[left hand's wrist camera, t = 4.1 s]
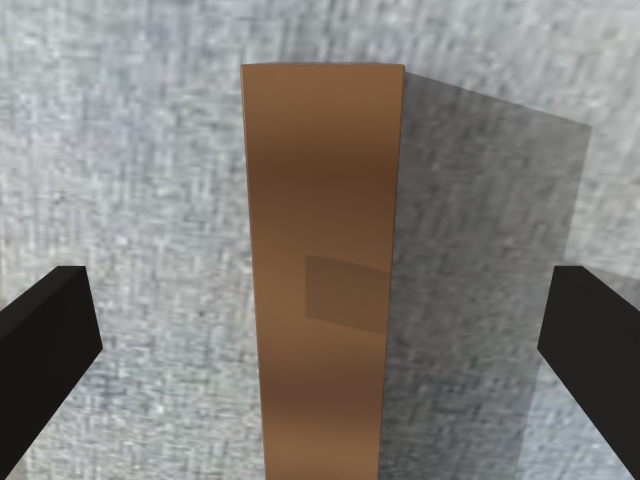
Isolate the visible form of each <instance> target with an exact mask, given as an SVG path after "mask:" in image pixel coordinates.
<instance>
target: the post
mask: <svg viewBox="0 0 640 480" xmlns="http://www.w3.org/2000/svg"><path fill="white" fill-rule="evenodd" d="M240 75H241V91H242V107H243V123H244V139H245V155H246V172H247V188H248V204H249V220H250V236H251V253H252V269H253V285H254V301H255V317H256V333H257V350H258V366H259V382H260V398H261V414H262V431H263V447H264V463H265V479H266V480H378V471H379V456H380V441H381V426H382V410H383V395H384V380H385V365H386V350H387V334H388V319H389V304H390V289H391V273H392V258H393V243H394V228H395V213H396V197H397V182H398V167H399V152H400V136H401V121H402V106H403V91H404V76H405V66H404V65H403V64H389V63H255V64H243V65H241V66H240Z"/></svg>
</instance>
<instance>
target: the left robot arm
mask: <svg viewBox="0 0 640 480" xmlns="http://www.w3.org/2000/svg"><path fill="white" fill-rule="evenodd" d="M102 349H103V346H102V342H101V337H100V332H99V328H98V323H97V318H96V314H95V309H94V304H93V300H92V295H91V290H90V286H89V281H88V276H87V272H86V267H85V266H57V267H56V268H55V269H53V270H52V271H51V272H50V273H48V274H47V275H46V276H44V277H43V278H42V279H41V280H39V281H38V282H37V283H36V284H34V285H33V286H32V287H31V288H29V289H28V290H27V291H26V292H24V293H23V294H22V295H20V296H19V297H18V298H17V299H15V300H14V301H13V302H12V303H10V304H9V305H8V306H7V307H5V308H4V309H3V310H2V311H0V480H5V479H6V478H7V476H8V475H9V473H10V472H11V471H12V469H13V468H14V467H15V465H16V464H17V463H18V461H19V460H20V459H21V457H22V456H23V455H24V453H25V452H26V451H27V449H28V448H29V447H30V445H31V444H32V443H33V441H34V440H35V439H36V437H37V436H38V435H39V433H40V432H41V431H42V429H43V428H44V427H45V425H46V424H47V423H48V421H49V420H50V419H51V417H52V416H53V415H54V413H55V412H56V411H57V409H58V408H59V407H60V405H61V404H62V403H63V401H64V400H65V399H66V397H67V396H68V395H69V393H70V392H71V391H72V389H73V388H74V387H75V385H76V384H77V383H78V381H79V380H80V379H81V377H82V376H83V375H84V373H85V372H86V371H87V369H88V368H89V367H90V365H91V364H92V363H93V361H94V360H95V359H96V357H97V356H98V355H99V353H100V352H101V351H102ZM537 349H538V351H539V352H540V353H541V355H542V356H543V357H544V359H545V360H546V361H547V363H548V364H549V365H550V367H551V368H552V369H553V371H554V372H555V373H556V375H557V376H558V377H559V379H560V380H561V381H562V383H563V384H564V385H565V387H566V388H567V389H568V391H569V392H570V393H571V395H572V396H573V397H574V399H575V400H576V401H577V403H578V404H579V405H580V407H581V408H582V409H583V411H584V412H585V413H586V415H587V416H588V417H589V419H590V420H591V421H592V423H593V424H594V425H595V427H596V428H597V429H598V431H599V432H600V433H601V435H602V436H603V437H604V439H605V440H606V441H607V443H608V444H609V445H610V447H611V448H612V449H613V451H614V452H615V453H616V455H617V456H618V457H619V459H620V460H621V461H622V463H623V464H624V465H625V467H626V468H627V469H628V471H629V472H630V473H631V475H632V476H633V478H634V479H635V480H640V311H638V310H637V309H636V308H635V307H633V306H632V305H631V304H630V303H628V302H627V301H626V300H625V299H623V298H622V297H621V296H620V295H618V294H617V293H616V292H614V291H613V290H612V289H611V288H609V287H608V286H607V285H606V284H604V283H603V282H602V281H601V280H599V279H598V278H597V277H596V276H594V275H593V274H592V273H590V272H589V271H588V270H587V269H585V268H584V267H583V266H555V267H554V272H553V276H552V281H551V286H550V290H549V295H548V300H547V304H546V309H545V314H544V318H543V323H542V328H541V332H540V337H539V342H538V346H537Z"/></svg>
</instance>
